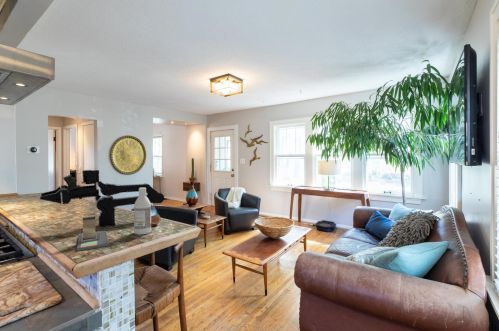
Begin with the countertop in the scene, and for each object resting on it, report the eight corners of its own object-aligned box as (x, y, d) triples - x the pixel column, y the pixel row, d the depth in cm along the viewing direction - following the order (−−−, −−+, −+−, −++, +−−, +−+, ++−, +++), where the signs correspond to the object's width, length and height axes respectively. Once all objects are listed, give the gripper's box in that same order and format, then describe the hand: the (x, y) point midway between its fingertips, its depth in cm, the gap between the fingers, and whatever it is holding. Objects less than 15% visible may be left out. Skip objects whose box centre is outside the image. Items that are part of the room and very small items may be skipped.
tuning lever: (82, 239, 95) (82, 217, 95) (96, 237, 98) (95, 216, 97) (82, 240, 94) (82, 218, 94) (96, 238, 96) (95, 217, 96)
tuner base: (80, 236, 104) (80, 227, 104) (106, 232, 109) (106, 224, 109) (77, 251, 87) (77, 240, 87) (108, 246, 92) (107, 236, 92)
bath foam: (151, 233, 108) (151, 188, 107) (134, 235, 105) (134, 189, 104) (150, 229, 114) (150, 186, 114) (134, 231, 111) (133, 187, 111)
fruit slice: (149, 228, 116) (149, 218, 116) (139, 226, 119) (139, 216, 119) (163, 224, 123) (163, 214, 123) (154, 223, 126) (153, 213, 126)
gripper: (80, 173, 123) (40, 176, 114) (84, 176, 109) (37, 180, 99) (82, 195, 124) (42, 199, 114) (85, 201, 109) (40, 207, 100)
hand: (40, 196), depth 107 cm, fingers open, 9 cm apart
